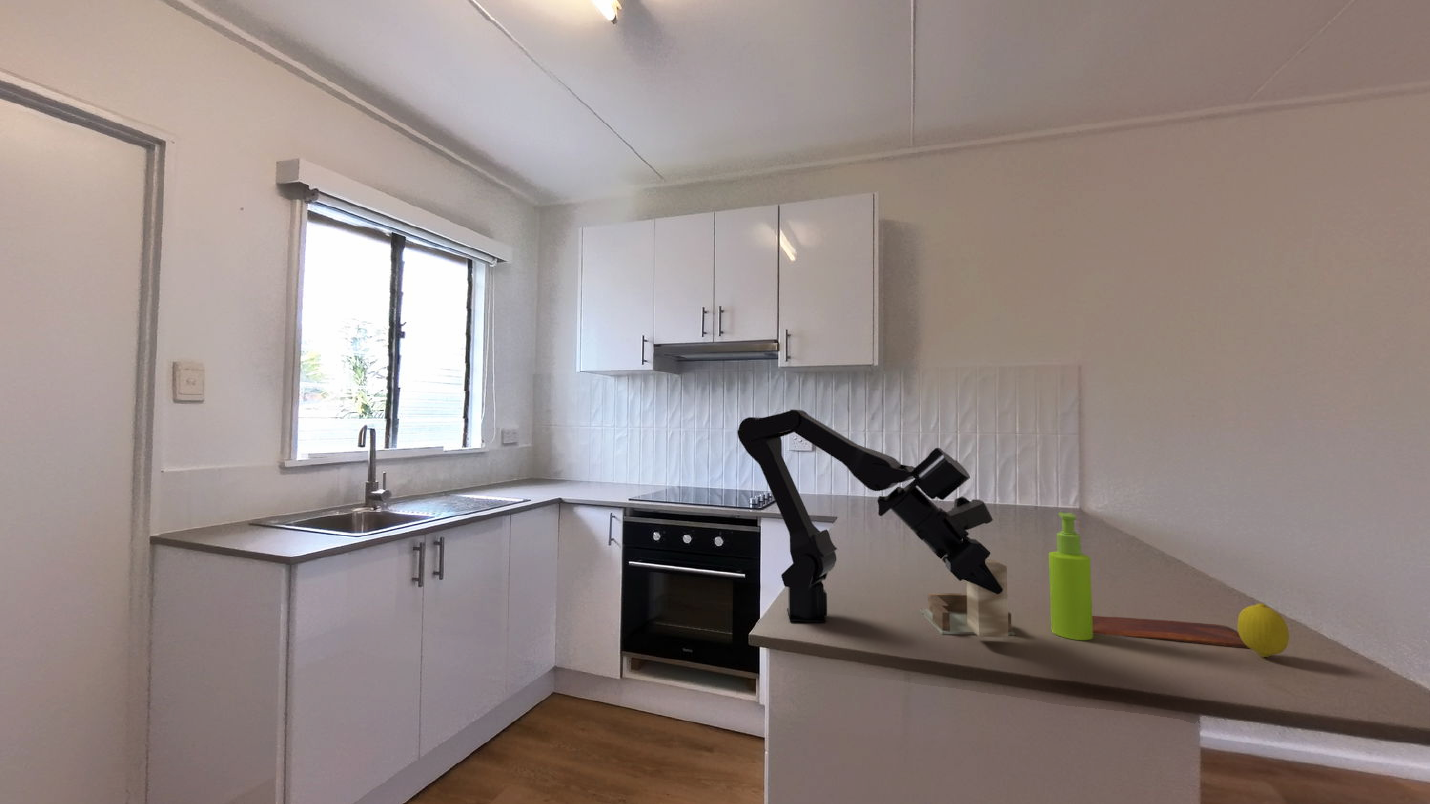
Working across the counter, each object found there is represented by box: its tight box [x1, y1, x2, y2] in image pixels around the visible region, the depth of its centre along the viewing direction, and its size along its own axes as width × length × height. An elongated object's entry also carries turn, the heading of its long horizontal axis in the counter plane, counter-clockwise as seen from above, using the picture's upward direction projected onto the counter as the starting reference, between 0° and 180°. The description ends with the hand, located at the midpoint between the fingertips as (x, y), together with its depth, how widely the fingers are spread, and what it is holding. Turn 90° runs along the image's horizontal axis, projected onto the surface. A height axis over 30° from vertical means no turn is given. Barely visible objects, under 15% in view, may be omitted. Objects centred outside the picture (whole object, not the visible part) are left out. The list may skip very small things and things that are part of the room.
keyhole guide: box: [919, 592, 1016, 636], centre depth 98 cm, size 12×12×3 cm
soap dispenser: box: [1048, 512, 1094, 641], centre depth 93 cm, size 6×7×20 cm
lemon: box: [1237, 603, 1290, 658], centre depth 83 cm, size 6×6×8 cm
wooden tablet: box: [1092, 615, 1250, 649], centre depth 94 cm, size 27×10×2 cm, turn 72°
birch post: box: [966, 558, 1009, 638], centre depth 89 cm, size 4×4×11 cm
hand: (995, 587), depth 89 cm, fingers closed on birch post, 5 cm apart
